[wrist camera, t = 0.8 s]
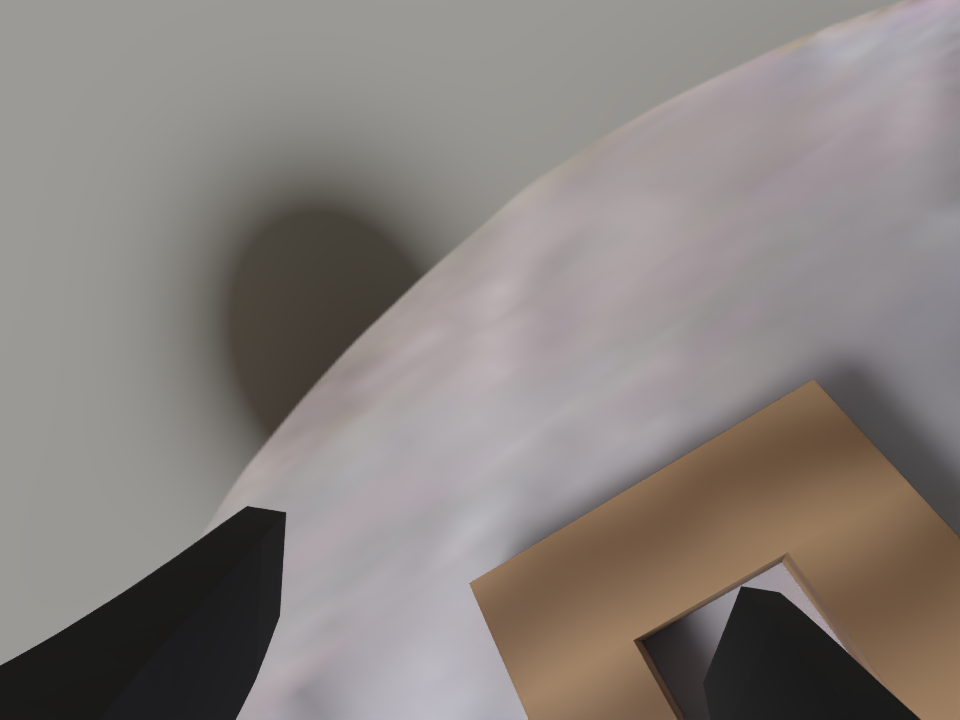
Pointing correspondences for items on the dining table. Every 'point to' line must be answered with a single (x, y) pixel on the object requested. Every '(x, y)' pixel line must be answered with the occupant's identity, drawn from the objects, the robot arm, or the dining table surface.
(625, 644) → the socket block
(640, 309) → the dining table surface
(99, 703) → the robot arm
